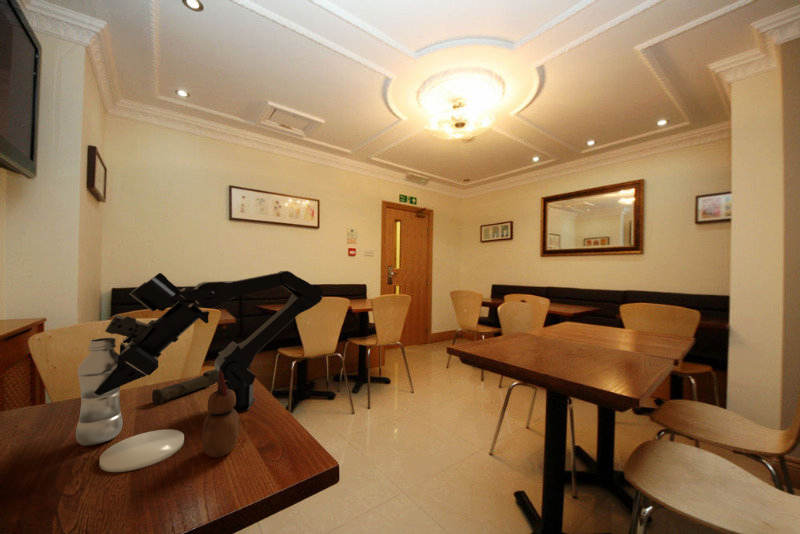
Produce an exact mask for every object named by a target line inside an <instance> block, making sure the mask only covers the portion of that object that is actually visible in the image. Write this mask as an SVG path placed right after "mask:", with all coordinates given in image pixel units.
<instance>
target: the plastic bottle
mask: <svg viewBox="0 0 800 534" xmlns="http://www.w3.org/2000/svg"><path fill="white" fill-rule="evenodd" d="M116 340H117V339H116V337H100V338H94V339H90V341H89V346H88V351H89V353H88V355H87V356H86V357H85V358H84V359H83V360H82V361H81V363H80V364H79V365H78V369H77V376H78V382H79V386H80V398H81V399H80V401H81V402H80V403H81V405H80V410H79V411H80V412H79V418H78V422H77V425H76V429H75V438H76V442H77V443H78V444H80V445H81V446H84V447H85V446H87V447H88V446H95V445H99V444H102V443H105V442H107V441H111V440H112V439H115V437H118V435H119V434H120V433H121V432H122V429H123V423H124V421H123V420H124V419H123V414H122V412H121V404H120V403H121V401H120V400H121V399H120V389H121V386H120V387H118V388H116V389H113V390H111V391H109V392H107V393H104V394H102V395H97V394H95V393H94V392H95V391H96V389H97V388H98V387H99V386H100V385H101V384H102V383H103V381H104V380H105V379H106V378H107V377H108V376H109V375H110V374H111V372H112V371H113V370H114V369H115V368H116V367H117V357H118V354H119V353H118V352H116V350H115V348H116V347H117V344H116Z"/></svg>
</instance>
